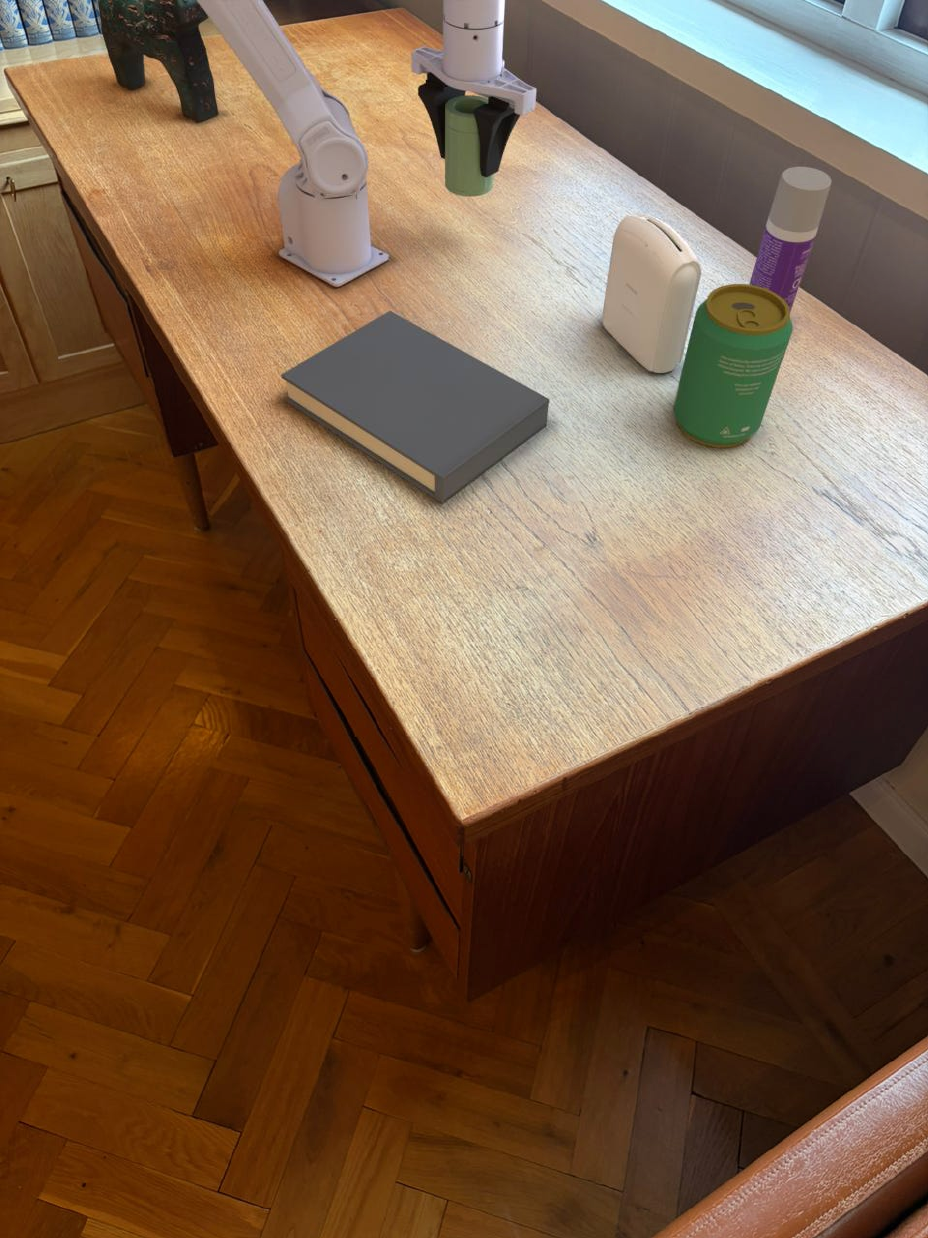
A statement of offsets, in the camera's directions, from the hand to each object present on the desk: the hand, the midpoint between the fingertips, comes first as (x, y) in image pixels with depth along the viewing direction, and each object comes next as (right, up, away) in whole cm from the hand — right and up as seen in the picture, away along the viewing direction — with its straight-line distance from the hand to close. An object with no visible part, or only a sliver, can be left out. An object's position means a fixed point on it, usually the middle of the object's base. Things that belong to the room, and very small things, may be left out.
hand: (469, 164), depth 98 cm
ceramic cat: (-41, +22, +28) cm, 54 cm away
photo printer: (+17, -20, -4) cm, 27 cm away
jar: (0, -1, +2) cm, 2 cm away
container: (+30, -17, -2) cm, 35 cm away
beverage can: (+23, -30, -12) cm, 39 cm away
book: (-5, -29, -12) cm, 31 cm away
